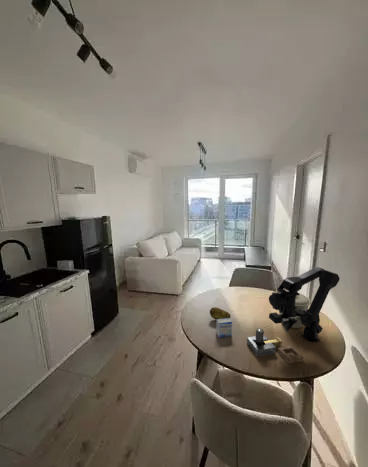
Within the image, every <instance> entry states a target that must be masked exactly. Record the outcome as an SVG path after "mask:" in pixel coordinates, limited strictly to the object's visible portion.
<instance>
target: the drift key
mask: <svg viewBox="0 0 368 467" xmlns="http://www.w3.org/2000/svg"><path fill="white" fill-rule="evenodd" d="M266 343H272V344H273V345H274V346H275V347H276V348H281V347H283V340H282V339H281V338H280V337H278V336H276V337H275V339H268V341H263V345H265V344H266Z"/></svg>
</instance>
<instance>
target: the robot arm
mask: <svg viewBox="0 0 368 467" xmlns="http://www.w3.org/2000/svg"><path fill="white" fill-rule="evenodd" d="M317 279H318V283H319V286H318V288H317V290H316V292H315V294H314V296H313V298H312V301H311V303H310V304H309V305H310V306H309V307H308V310H306V311H305V310H303V311H302V310H300V309H298V310H295V309H297V307H296V306H295V302H296V296H297V295H300V294H301V293H300V292H299V291H301V290H302V288H303V286H305V285H306V284H308V283H310V282H312V281H315V280H317ZM340 280H341V279H340V277H339V274H337V273H336V272H333V271H329V270H326V269H325V268H322V267H320V266H314V267H313V268H312V269H310V270H308V271H305V272H303V273H301V274H299V275H297V276H289V277H285V278H284V279H283V280H282V281H281V284H280V285H278V287H277V289H276V292H275V291H274V292H272V293H271V294H270V295H269V297H268V302H269V304H270V305H271V307H272V309H273V310H275V312H270V313H268V318H269V319H270V320H271V321H272V322H273V323H274V324H276V325H278V324H281V323H282V322H283V323H282V324H283V326H284V331H286V332H289V331H290V329H291V328H292V326H293V325H294V324H295V323H296V322H297V320H296V318H295V317H299V316H300V320H301V323H302V325H303V326H304V328H303V334H301V335H300V336H301V337H302V338H304V339H305V340H306V341H307V342H308V341H309V342H308V343H310V342H312V343H316V341H318V342H320V341H321V340H320V338H319V337H318V336H319V334H321V332H322V331H323V329H324V328H323V327H322V326H321V325H320V321H321V320H320V312H321V310H322V309H323V306H324V304H325V302H326V299H327V297H328V296H329V292H330V291H331V290H332V289H334V288H335V287H337V285H338V283H339V282H340ZM299 293H300V294H299ZM276 311H278V312H276ZM279 312H280V313H282V314H281V315H279Z"/></svg>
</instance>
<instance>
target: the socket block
mask: <svg viewBox="0 0 368 467" xmlns="http://www.w3.org/2000/svg"><path fill="white" fill-rule="evenodd" d="M268 340H269V339H268V337H267V336H266V335H265V334H263V341H268ZM255 343H256V335H255V336H248V337H246V344H247V345H248V347H249V348H250V350H251V351H252V352H253V354H254V355H255V356H256V357H257V358H258V357H264V356H270V355H274V354H276V350H277V347H275V346H274V345H273V344H272V343H266V344H265V345H263V346H257V345H256V344H255Z"/></svg>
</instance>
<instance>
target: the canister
mask: <svg viewBox="0 0 368 467" xmlns="http://www.w3.org/2000/svg"><path fill="white" fill-rule="evenodd" d="M298 293H299V294H300V295H297V296H296V302H295V306H296V307H297V309H295V310H298V309H300V310H302V311H303V310H305V311H306V310H308V309H309V307H310V306H309V305H311V303H312V301H311V299H310V298H309V297H307V296H306V295H305V294H302V293H300V292H298ZM278 314H279V315H281V314H282V313H280V312H279V311H278ZM295 318H296V320H297V322H296V323H295V324H294V325H293V326H292V327H291V328H293V329H299V328H301V327H303V326H304V325H302V323H301V320H300V316H299V317H295ZM282 324H283V322H282Z"/></svg>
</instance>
